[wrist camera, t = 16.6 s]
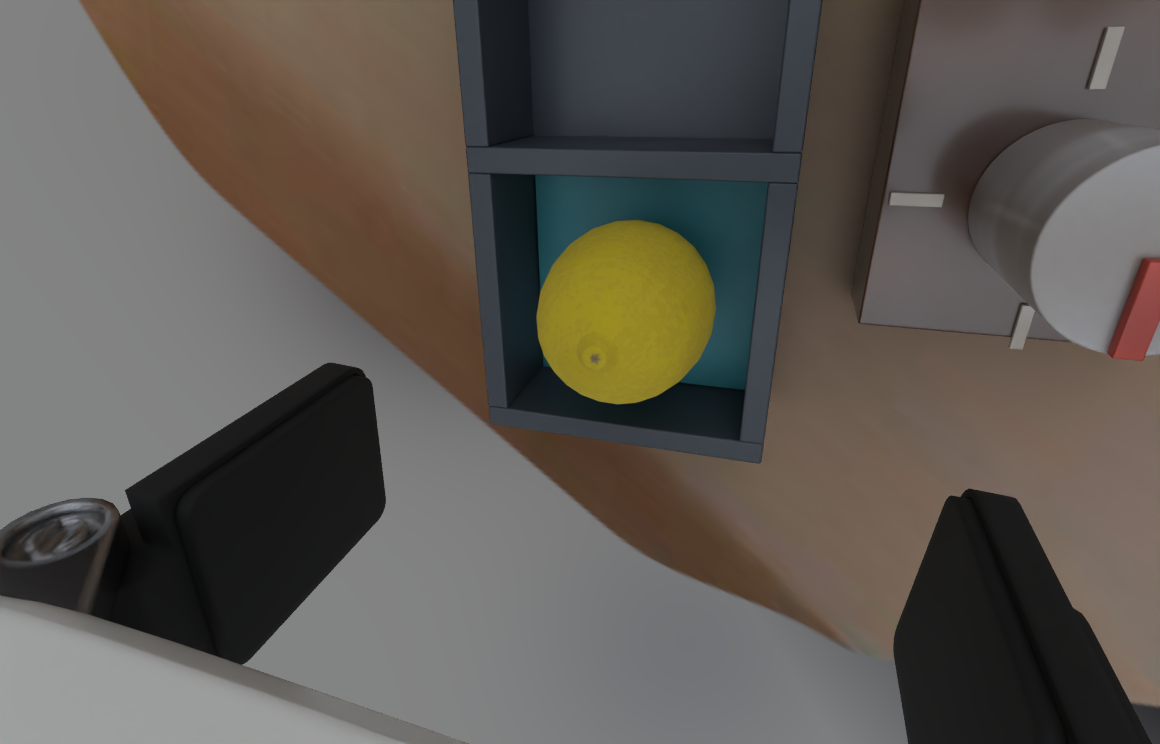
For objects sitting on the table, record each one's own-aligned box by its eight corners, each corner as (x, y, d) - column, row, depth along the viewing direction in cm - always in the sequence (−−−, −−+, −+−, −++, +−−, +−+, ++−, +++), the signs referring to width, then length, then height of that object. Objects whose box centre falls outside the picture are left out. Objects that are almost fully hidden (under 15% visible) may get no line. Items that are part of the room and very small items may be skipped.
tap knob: (990, 118, 17) (1073, 139, 12) (1188, 119, 16) (1372, 143, 11) (951, 276, 19) (1008, 351, 14) (1125, 287, 18) (1257, 373, 13)
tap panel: (924, -112, 18) (947, -144, 15) (1333, -146, 15) (1449, -192, 13) (849, 303, 23) (856, 334, 20) (1143, 326, 21) (1197, 366, 18)
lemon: (673, 367, 25) (627, 481, 18) (558, 291, 25) (468, 376, 18) (758, 254, 22) (742, 338, 15) (627, 169, 22) (553, 214, 15)
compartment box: (506, -180, 20) (431, -245, 16) (847, -225, 17) (864, -319, 13) (533, 372, 28) (489, 424, 24) (766, 400, 26) (761, 464, 21)
